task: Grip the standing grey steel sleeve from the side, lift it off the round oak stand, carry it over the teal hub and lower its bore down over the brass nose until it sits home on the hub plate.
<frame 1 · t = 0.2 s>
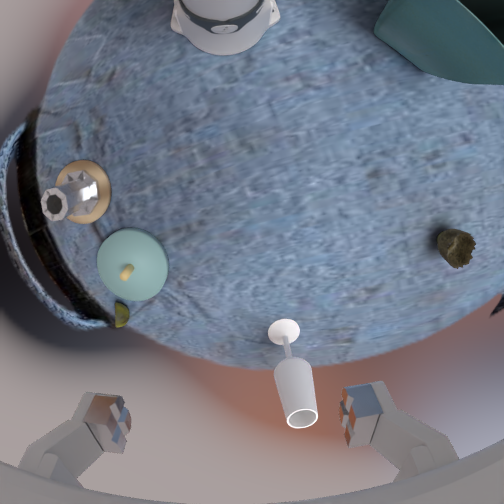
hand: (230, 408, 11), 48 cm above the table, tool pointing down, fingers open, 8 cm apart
flower pot: (409, 30, 45), on the table
lime: (122, 308, 63), on the table
sleeve: (80, 192, 53), point 1 cm above the table, touching stand
hub: (134, 262, 59), on the table
stand: (83, 191, 54), on the table
champagne flute: (283, 331, 66), on the table
cup: (441, 238, 60), on the table
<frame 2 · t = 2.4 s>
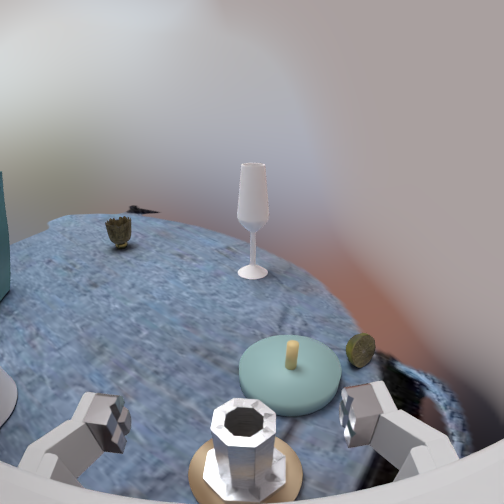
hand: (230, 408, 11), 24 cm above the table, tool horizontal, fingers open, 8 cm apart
lime: (357, 362, 46), on the table
sleeve: (245, 472, 28), point 1 cm above the table, touching stand
hub: (289, 378, 43), on the table
stand: (245, 477, 28), on the table
champagne flute: (252, 272, 73), on the table
cup: (122, 247, 86), on the table
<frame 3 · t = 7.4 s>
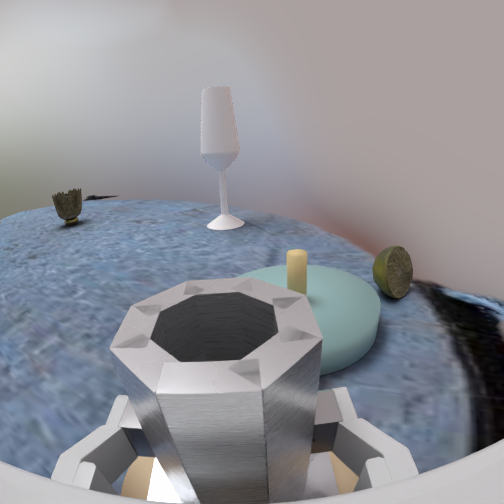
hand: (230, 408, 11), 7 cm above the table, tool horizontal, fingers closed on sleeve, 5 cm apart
lime: (390, 294, 31), on the table
sleeve: (243, 493, 12), point 1 cm above the table, touching gripper, stand
hub: (296, 323, 28), on the table
stand: (245, 502, 12), on the table
champagne flute: (225, 225, 58), on the table
cup: (72, 225, 68), on the table
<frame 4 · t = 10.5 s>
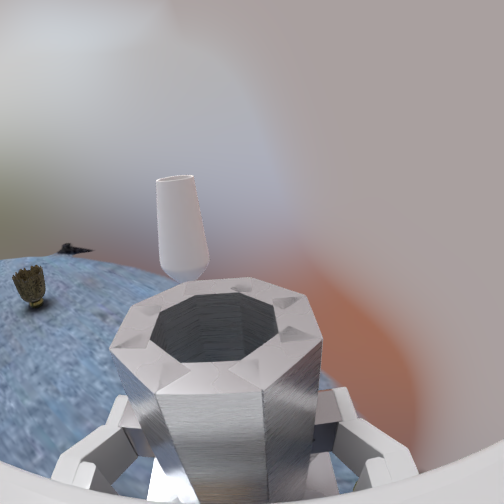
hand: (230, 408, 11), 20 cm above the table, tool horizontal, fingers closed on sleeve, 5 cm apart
sleeve: (243, 493, 12), point 14 cm above the table, touching gripper
champagne flute: (197, 340, 48), on the table
cup: (37, 306, 58), on the table
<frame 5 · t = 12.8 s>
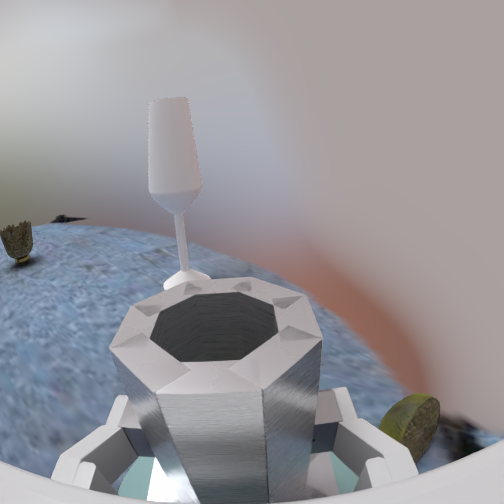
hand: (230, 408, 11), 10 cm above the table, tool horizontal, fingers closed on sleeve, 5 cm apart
lime: (400, 452, 17), on the table
sleeve: (243, 493, 12), point 5 cm above the table, touching gripper
champagne flute: (187, 283, 44), on the table
cup: (23, 263, 54), on the table
when the fingers open (9 cm above the table, at t = 13.6 s): sleeve stays where it is, resting on hub.
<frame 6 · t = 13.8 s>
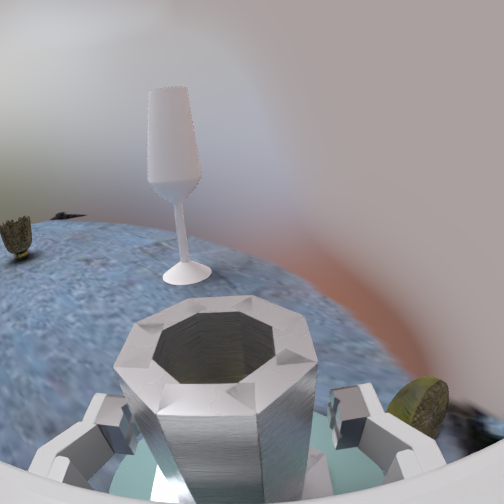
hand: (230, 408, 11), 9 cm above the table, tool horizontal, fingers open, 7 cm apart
lime: (408, 440, 17), on the table
sleeve: (242, 498, 12), point 2 cm above the table, touching hub
champagne flute: (187, 275, 43), on the table
cup: (23, 259, 54), on the table
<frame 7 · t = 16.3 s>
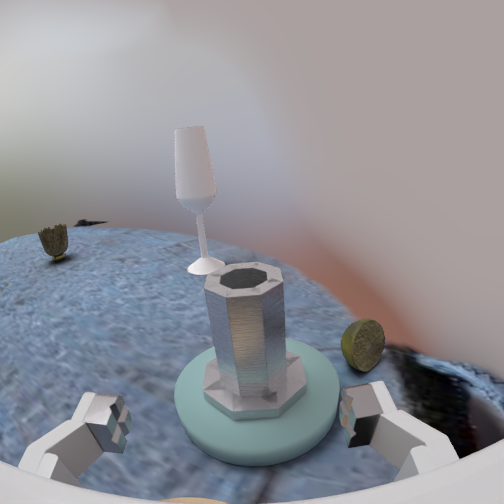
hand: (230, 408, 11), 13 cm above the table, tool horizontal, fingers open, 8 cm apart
lime: (360, 364, 30), on the table
sleeve: (254, 383, 26), point 2 cm above the table, touching hub
hub: (258, 402, 27), on the table
champagne flute: (206, 267, 57), on the table
cup: (60, 260, 68), on the table
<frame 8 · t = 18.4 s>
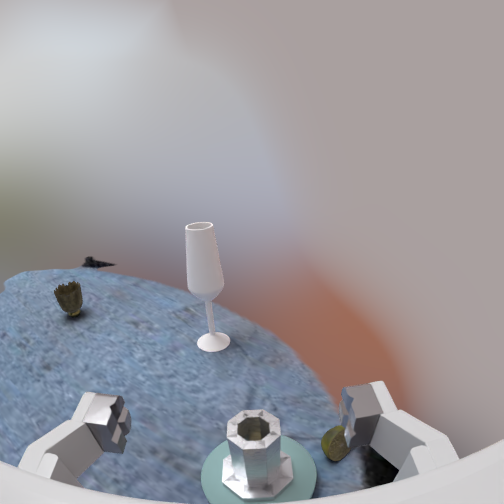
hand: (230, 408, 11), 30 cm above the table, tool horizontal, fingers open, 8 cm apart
lime: (335, 452, 37), on the table
sleeve: (257, 474, 32), point 2 cm above the table, touching hub
hub: (259, 482, 33), on the table
champagne flute: (213, 342, 63), on the table
cup: (75, 315, 74), on the table
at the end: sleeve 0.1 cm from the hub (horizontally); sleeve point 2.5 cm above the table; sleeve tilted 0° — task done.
